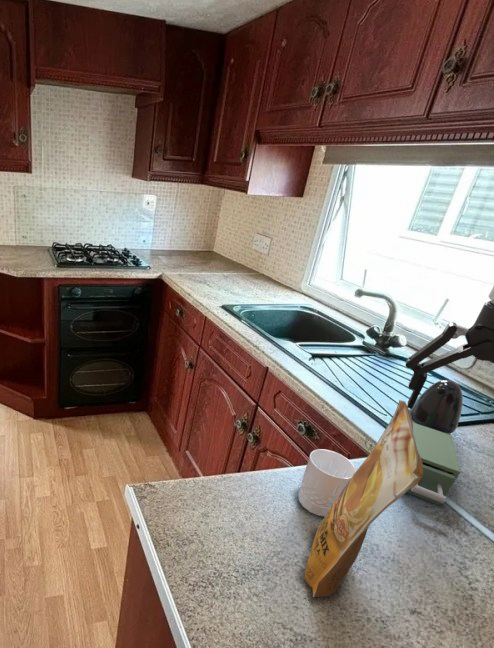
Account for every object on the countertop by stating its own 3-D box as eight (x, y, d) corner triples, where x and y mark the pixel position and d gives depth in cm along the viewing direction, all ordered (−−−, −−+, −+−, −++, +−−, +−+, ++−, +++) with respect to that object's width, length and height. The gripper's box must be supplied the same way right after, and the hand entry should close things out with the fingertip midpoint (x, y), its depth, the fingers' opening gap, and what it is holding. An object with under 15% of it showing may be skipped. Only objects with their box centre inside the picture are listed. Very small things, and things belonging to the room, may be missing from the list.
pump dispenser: (393, 425, 106) (417, 375, 99) (415, 417, 110) (440, 369, 104) (434, 449, 98) (464, 396, 91) (456, 439, 102) (486, 388, 96)
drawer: (442, 521, 75) (458, 494, 72) (396, 503, 79) (411, 476, 76) (434, 468, 90) (448, 443, 87) (396, 454, 93) (408, 430, 90)
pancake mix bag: (359, 536, 72) (427, 404, 59) (343, 624, 57) (428, 473, 45) (320, 517, 75) (376, 387, 63) (294, 595, 60) (361, 447, 48)
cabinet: (440, 505, 81) (460, 472, 77) (391, 485, 85) (408, 453, 81) (434, 465, 92) (452, 435, 88) (391, 450, 96) (406, 420, 92)
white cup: (339, 499, 79) (357, 460, 75) (336, 526, 73) (355, 485, 69) (298, 482, 83) (312, 443, 78) (291, 506, 77) (307, 466, 72)
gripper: (421, 291, 66) (373, 401, 75) (644, 337, 53) (553, 462, 63) (422, 283, 71) (377, 386, 81) (624, 323, 59) (543, 440, 68)
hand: (454, 420), depth 72 cm, fingers open, 13 cm apart
